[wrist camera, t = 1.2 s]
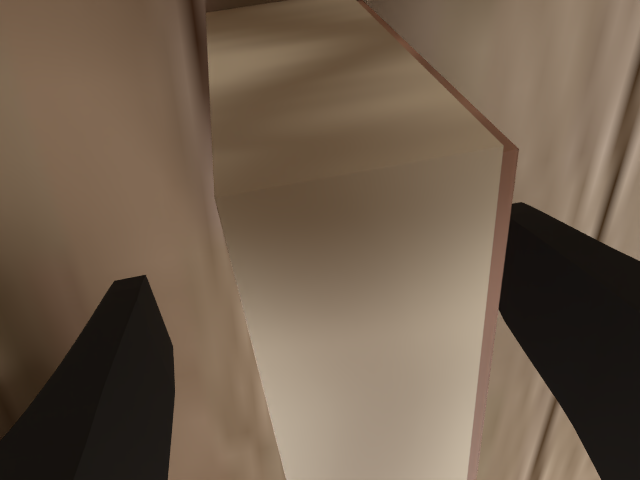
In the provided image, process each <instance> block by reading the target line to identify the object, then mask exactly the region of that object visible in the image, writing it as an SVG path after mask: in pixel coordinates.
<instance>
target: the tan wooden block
mask: <svg viewBox="0 0 640 480" xmlns="http://www.w3.org/2000/svg"><path fill="white" fill-rule="evenodd" d="M206 29H207V50H208V71H209V92H210V113H211V134H212V155H213V176H214V197H215V201H216V205H217V209H218V213H219V217H220V221H221V225H222V229H223V233H224V237H225V241H226V245H227V249H228V253H229V257H230V260H231V264H232V268H233V272H234V276H235V280H236V284H237V288H238V292H239V296H240V300H241V304H242V308H243V312H244V316H245V319H246V323H247V327H248V331H249V335H250V339H251V343H252V347H253V351H254V355H255V359H256V363H257V367H258V371H259V375H260V378H261V382H262V386H263V390H264V394H265V398H266V402H267V406H268V410H269V414H270V418H271V422H272V426H273V430H274V434H275V437H276V441H277V445H278V449H279V453H280V457H281V461H282V465H283V469H284V473H285V477H286V480H476V478H477V471H478V463H479V455H480V447H481V440H482V432H483V424H484V416H485V408H486V401H487V393H488V385H489V377H490V370H491V362H492V354H493V346H494V339H495V331H496V323H497V315H498V308H499V300H500V292H501V284H502V277H503V269H504V261H505V253H506V245H507V238H508V230H509V222H510V214H511V207H512V199H513V191H514V183H515V176H516V168H517V160H518V152H519V149H518V148H517V147H516V146H515V145H514V144H513V143H512V142H511V141H510V140H509V139H508V138H507V137H506V136H505V135H503V134H502V133H501V132H500V131H499V130H498V129H497V128H496V127H495V126H494V125H493V124H492V123H491V122H490V121H489V120H488V119H487V118H486V117H485V116H483V115H482V114H481V113H480V112H479V111H478V110H477V109H476V108H475V107H474V106H473V105H472V104H471V103H470V102H469V101H468V100H467V99H466V98H465V97H464V96H462V95H461V94H460V93H459V92H458V91H457V90H456V89H455V88H454V87H453V86H452V85H451V84H450V83H449V82H448V81H447V80H446V79H445V78H444V77H442V76H441V75H440V74H439V73H438V72H437V71H436V70H435V69H434V68H433V67H432V66H431V65H430V64H429V63H428V62H427V61H426V60H425V59H424V58H422V57H421V56H420V55H419V54H418V53H417V52H416V51H415V50H414V49H413V48H412V47H411V46H410V45H409V44H408V43H407V42H406V41H405V40H404V39H402V38H401V37H400V36H399V35H398V34H397V33H396V32H395V31H394V30H393V29H392V28H391V27H390V26H389V25H388V24H387V23H386V22H385V21H384V20H382V19H381V18H380V17H379V16H378V15H377V14H376V13H375V12H374V11H373V10H372V9H371V8H370V7H369V6H368V5H367V4H366V3H365V2H364V1H362V0H360V1H356V0H286V1H279V2H272V3H266V4H259V5H253V6H246V7H239V8H233V9H226V10H220V11H213V12H206Z"/></svg>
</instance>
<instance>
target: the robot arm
mask: <svg viewBox="0 0 640 480" xmlns="http://www.w3.org/2000/svg"><path fill="white" fill-rule="evenodd" d="M498 309H499V311H500V313H501V315H502V317H503V319H504V321H505V322H506V324H507V326H508V327H509V329H510V330H511V332H512V333H513V335H514V336H515V338H516V339H517V341H518V342H519V344H520V346H521V347H522V349H523V350H524V352H525V353H526V355H527V356H528V358H529V359H530V361H531V362H532V364H533V365H534V367H535V368H536V369H537V371H538V372H539V374H540V375H541V377H542V378H543V380H544V381H545V383H546V384H547V386H548V387H549V389H550V390H551V392H552V393H553V395H554V396H555V398H556V399H557V401H558V402H559V404H560V405H561V407H562V408H563V410H564V412H565V413H566V415H567V417H568V418H569V420H570V422H571V423H572V425H573V427H574V428H575V430H576V432H577V434H578V436H579V438H580V440H581V442H582V444H583V445H584V447H585V449H586V451H587V453H588V455H589V457H590V459H591V461H592V462H593V464H594V466H595V468H596V470H597V472H598V474H599V476H600V478H601V480H640V261H638V260H636V259H634V258H632V257H630V256H628V255H626V254H624V253H621V252H619V251H617V250H615V249H613V248H611V247H609V246H607V245H605V244H603V243H601V242H599V241H597V240H595V239H594V238H592V237H590V236H588V235H586V234H584V233H582V232H580V231H578V230H576V229H574V228H572V227H570V226H569V225H567V224H565V223H563V222H561V221H559V220H557V219H555V218H553V217H551V216H549V215H547V214H545V213H543V212H541V211H539V210H537V209H535V208H533V207H531V206H529V205H527V204H525V203H522V202H520V203H514V204H512V207H511V214H510V222H509V230H508V238H507V245H506V253H505V261H504V269H503V277H502V284H501V292H500V300H499V308H498ZM174 397H175V379H174V357H173V345H172V342H171V340H170V337H169V335H168V332H167V329H166V327H165V324H164V321H163V319H162V316H161V314H160V311H159V308H158V306H157V303H156V300H155V298H154V295H153V293H152V290H151V287H150V285H149V282H148V279H147V277H146V275H142V276H137V277H132V278H127V279H122V280H116V281H114V282H113V284H112V285H111V287H110V288H109V290H108V291H107V293H106V294H105V296H104V297H103V299H102V301H101V302H100V304H99V305H98V307H97V309H96V310H95V312H94V313H93V315H92V317H91V318H90V320H89V321H88V323H87V324H86V326H85V328H84V329H83V331H82V332H81V334H80V335H79V337H78V338H77V340H76V341H75V343H74V344H73V346H72V347H71V349H70V350H69V352H68V353H67V355H66V356H65V358H64V359H63V361H62V362H61V364H60V365H59V366H58V368H57V369H56V371H55V372H54V374H53V375H52V376H51V378H50V379H49V380H48V382H47V383H46V384H45V386H44V387H43V388H42V390H41V391H40V392H39V394H38V395H37V396H36V398H35V399H34V400H33V402H32V403H31V404H30V406H29V407H28V408H27V410H26V411H25V412H24V413H23V415H22V416H21V417H20V418H19V420H18V421H17V422H16V423H15V424H14V426H13V427H12V428H11V429H10V430H9V432H8V433H7V434H6V435H5V436H4V437H3V438H2V440H1V441H0V480H168V469H169V458H170V446H171V435H172V423H173V410H174Z"/></svg>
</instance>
